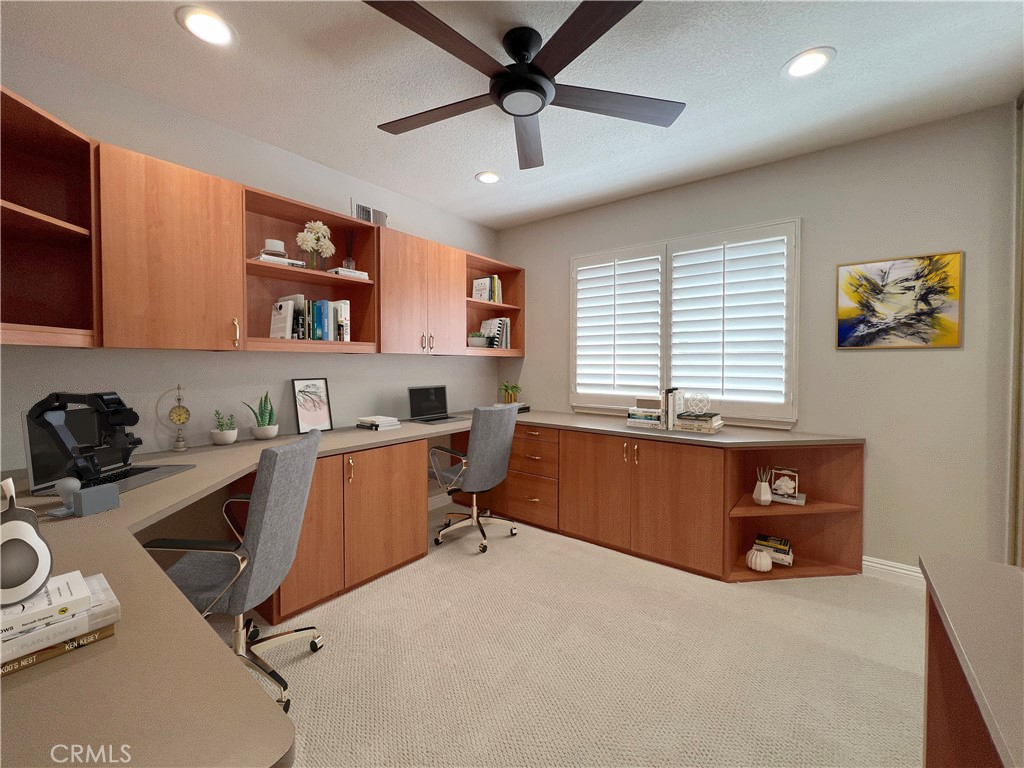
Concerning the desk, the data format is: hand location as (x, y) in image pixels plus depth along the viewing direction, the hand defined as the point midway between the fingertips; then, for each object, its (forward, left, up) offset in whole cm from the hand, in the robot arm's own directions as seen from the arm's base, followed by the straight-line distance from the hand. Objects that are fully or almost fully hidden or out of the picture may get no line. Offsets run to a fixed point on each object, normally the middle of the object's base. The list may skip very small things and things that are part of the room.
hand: (110, 468), depth 155 cm
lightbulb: (-1, -11, -11) cm, 16 cm away
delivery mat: (-1, -11, -12) cm, 16 cm away
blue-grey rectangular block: (+8, -8, -12) cm, 16 cm away
